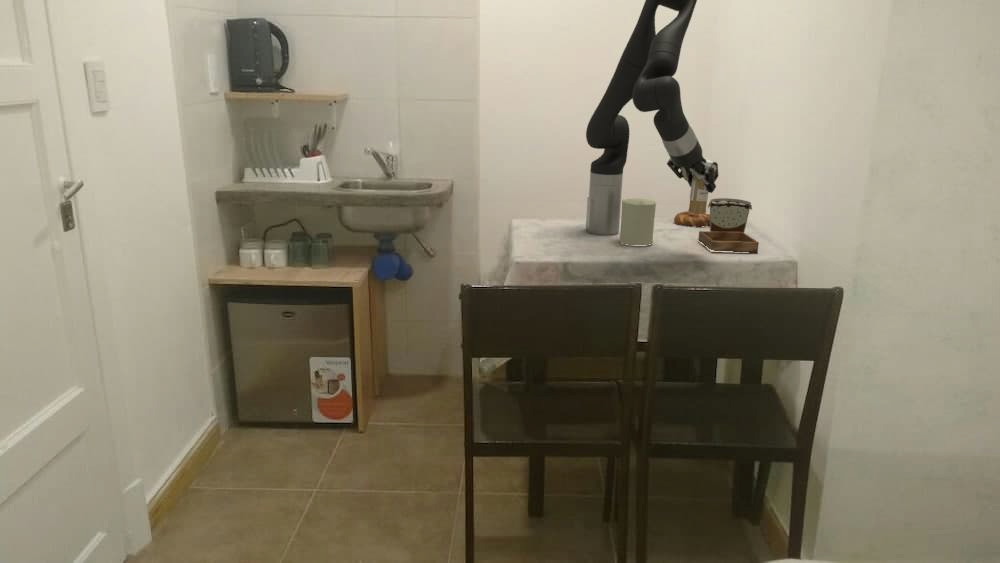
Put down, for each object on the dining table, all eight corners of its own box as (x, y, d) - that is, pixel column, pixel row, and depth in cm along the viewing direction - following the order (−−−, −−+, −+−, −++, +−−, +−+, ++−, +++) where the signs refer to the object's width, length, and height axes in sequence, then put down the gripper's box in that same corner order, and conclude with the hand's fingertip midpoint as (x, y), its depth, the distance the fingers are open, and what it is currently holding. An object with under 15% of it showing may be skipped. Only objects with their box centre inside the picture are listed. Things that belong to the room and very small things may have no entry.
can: (625, 247, 196) (628, 203, 192) (614, 239, 205) (617, 196, 201) (658, 246, 197) (661, 202, 194) (645, 238, 206) (649, 196, 203)
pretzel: (678, 228, 221) (679, 216, 220) (669, 220, 232) (670, 209, 231) (717, 229, 222) (718, 216, 220) (706, 221, 232) (708, 209, 231)
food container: (744, 232, 217) (748, 198, 214) (748, 236, 211) (752, 202, 208) (701, 230, 218) (705, 197, 215) (705, 235, 212) (708, 200, 209)
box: (711, 252, 192) (712, 241, 191) (698, 241, 204) (699, 231, 203) (757, 253, 192) (758, 242, 191) (741, 242, 204) (742, 231, 203)
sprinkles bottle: (703, 215, 185) (709, 162, 181) (685, 213, 187) (691, 160, 183) (708, 212, 189) (714, 160, 185) (690, 210, 191) (696, 158, 187)
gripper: (714, 134, 172) (735, 181, 183) (664, 128, 182) (687, 173, 193) (699, 159, 170) (721, 204, 181) (649, 151, 180) (673, 195, 191)
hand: (703, 188), depth 187 cm, fingers closed on sprinkles bottle, 4 cm apart
